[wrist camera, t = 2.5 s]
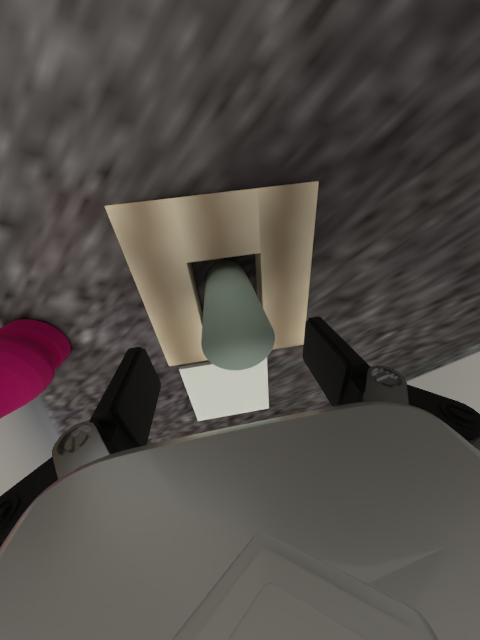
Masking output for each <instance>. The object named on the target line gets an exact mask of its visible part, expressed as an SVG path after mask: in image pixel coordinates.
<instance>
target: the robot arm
mask: <svg viewBox="0 0 480 640" xmlns="http://www.w3.org/2000/svg"><path fill="white" fill-rule="evenodd" d="M303 359H304V362H305V363H306V365H307V366H308V368H309V369H310V371H311V373H312V374H313V376H314V377H315V379H316V381H317V382H318V384H319V385H320V387H321V389H322V390H323V392H324V393H325V395H326V397H327V398H328V400H329V401H330V403H331V405H332V406H333V407H328V408H323V409H317V410H312V411H307V412H302V413H297V414H293V415H288V416H283V417H278V418H273V419H268V420H263V421H258V422H253V423H248V424H243V425H239V426H234V427H229V428H224V429H219V430H214V431H210V432H205V433H200V434H196V435H191V436H186V437H181V438H177V439H172V440H167V441H163V442H158V443H154V444H149V445H146V444H147V440H148V436H149V432H150V428H151V424H152V420H153V416H154V412H155V408H156V404H157V400H158V396H159V392H160V388H161V383H160V380H159V378H158V376H157V374H156V371H155V369H154V367H153V365H152V363H151V361H150V358H149V356H148V354H147V352H146V350H145V349H142V348H141V347H136V348H130V349H128V350H127V352H126V354H125V356H124V358H123V360H122V362H121V363H120V365H119V367H118V369H117V371H116V373H115V375H114V376H113V378H112V380H111V382H110V384H109V386H108V387H107V389H106V391H105V393H104V395H103V397H102V399H101V401H100V402H99V404H98V406H97V408H96V410H95V412H94V414H93V415H92V417H91V419H90V421H89V422H82V423H79V424H77V425H75V426H73V427H71V428H70V429H69V430H67V431H66V432H65V433H64V434H63V435H62V436H61V437H60V438H59V439H58V441H57V442H56V443H55V445H54V447H53V450H52V457H51V458H50V459H49V460H48V461H46V462H45V463H44V464H42V465H41V466H39V467H38V468H37V469H36V470H34V471H33V472H32V473H30V474H29V475H28V476H26V477H25V478H24V479H22V480H21V481H20V482H19V483H17V484H16V485H15V486H13V487H12V488H11V489H9V490H8V491H7V492H5V493H4V494H3V495H2V496H0V640H480V414H479V413H478V412H476V411H475V410H474V409H472V408H470V407H469V406H467V405H465V404H463V403H460V402H458V401H455V400H452V399H449V398H446V397H443V396H440V395H437V394H434V393H431V392H428V391H425V390H422V389H419V388H416V387H413V386H410V385H407V382H406V380H405V378H404V377H403V376H402V375H401V374H400V373H399V372H398V371H396V370H394V369H392V368H389V367H386V366H372V367H370V366H369V365H368V364H367V363H366V362H365V361H364V360H363V359H362V358H361V357H360V356H359V355H358V354H357V353H356V352H355V351H354V350H353V349H352V348H351V347H350V346H349V345H348V344H347V343H346V342H345V341H344V340H343V339H342V338H341V337H340V336H339V335H338V334H337V333H336V332H335V331H334V330H333V329H332V328H331V327H330V326H329V325H328V324H327V323H326V322H325V321H324V320H323V319H322V318H321V317H313V318H309V319H308V321H306V324H305V335H304V346H303Z"/></svg>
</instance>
